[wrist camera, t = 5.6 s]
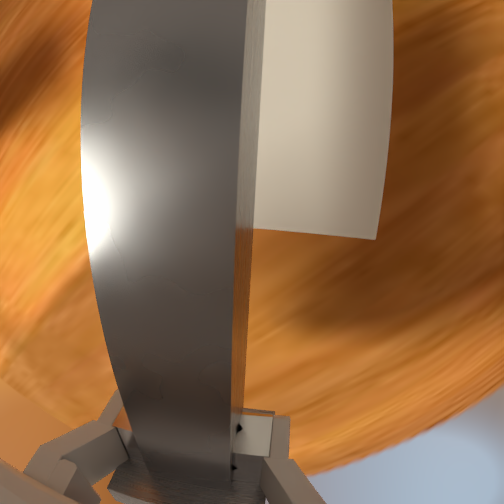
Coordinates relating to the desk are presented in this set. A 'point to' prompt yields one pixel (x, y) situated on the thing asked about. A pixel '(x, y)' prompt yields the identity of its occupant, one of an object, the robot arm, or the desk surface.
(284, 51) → the bearing block
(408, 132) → the desk surface
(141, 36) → the shaft
